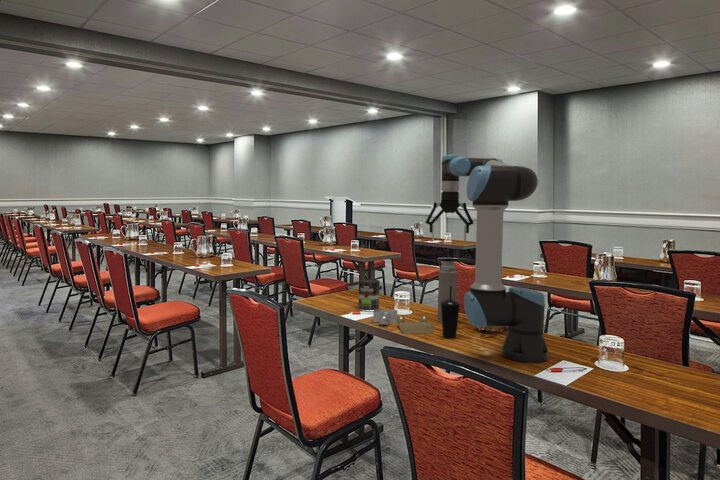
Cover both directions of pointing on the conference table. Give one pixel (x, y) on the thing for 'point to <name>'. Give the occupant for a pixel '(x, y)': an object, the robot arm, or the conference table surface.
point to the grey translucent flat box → (415, 326)
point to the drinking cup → (450, 316)
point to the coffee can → (369, 294)
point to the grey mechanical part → (385, 316)
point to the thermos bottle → (446, 283)
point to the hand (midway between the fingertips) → (448, 240)
